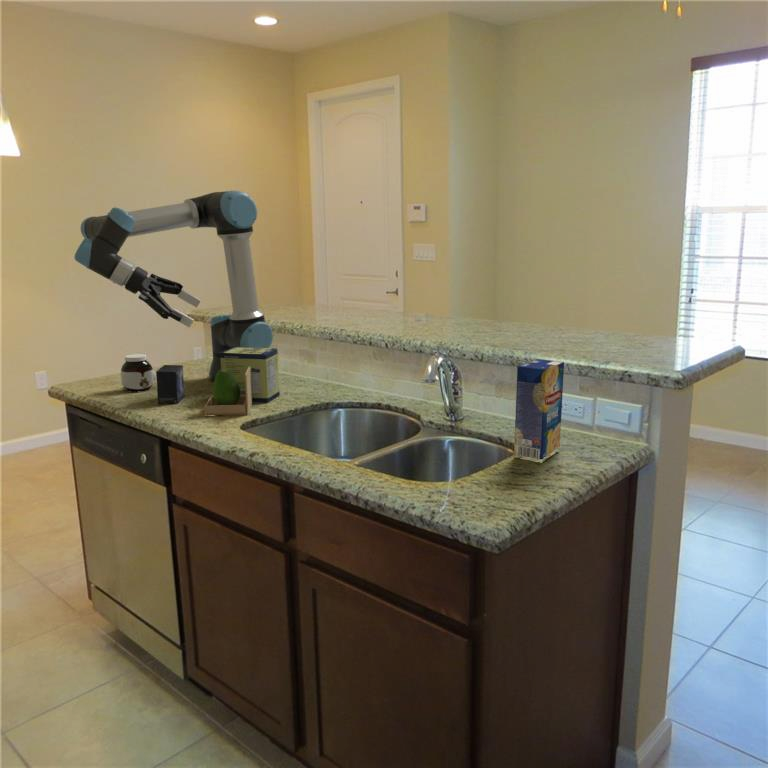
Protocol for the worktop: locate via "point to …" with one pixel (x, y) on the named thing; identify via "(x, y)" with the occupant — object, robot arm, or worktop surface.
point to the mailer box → (238, 409)
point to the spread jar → (137, 373)
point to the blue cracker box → (538, 408)
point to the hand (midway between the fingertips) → (195, 313)
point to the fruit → (225, 388)
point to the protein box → (254, 371)
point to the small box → (170, 383)
